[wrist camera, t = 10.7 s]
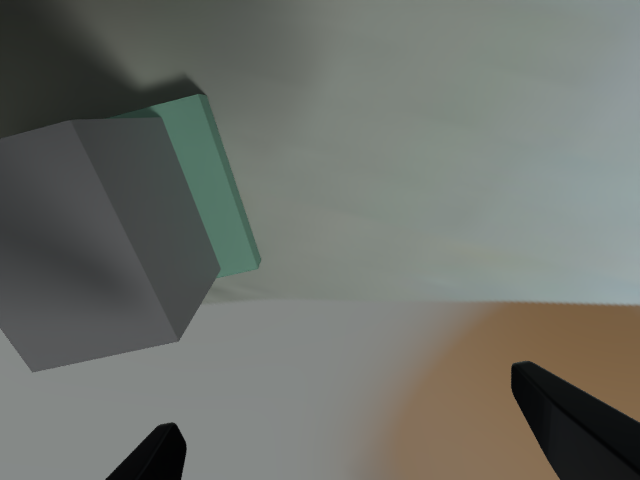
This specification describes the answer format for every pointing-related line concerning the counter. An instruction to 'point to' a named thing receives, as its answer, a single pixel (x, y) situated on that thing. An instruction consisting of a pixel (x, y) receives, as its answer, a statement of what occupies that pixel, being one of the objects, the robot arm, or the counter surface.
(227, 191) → the pin board
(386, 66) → the counter surface
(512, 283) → the counter surface
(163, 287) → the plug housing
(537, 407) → the robot arm
